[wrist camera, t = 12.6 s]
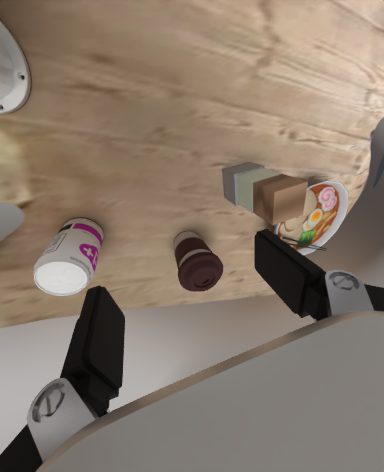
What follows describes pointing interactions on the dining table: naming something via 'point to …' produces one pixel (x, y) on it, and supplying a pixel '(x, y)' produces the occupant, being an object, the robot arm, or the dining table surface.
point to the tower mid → (250, 185)
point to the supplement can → (69, 258)
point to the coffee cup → (196, 263)
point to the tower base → (231, 180)
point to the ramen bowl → (316, 217)
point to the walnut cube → (279, 198)
